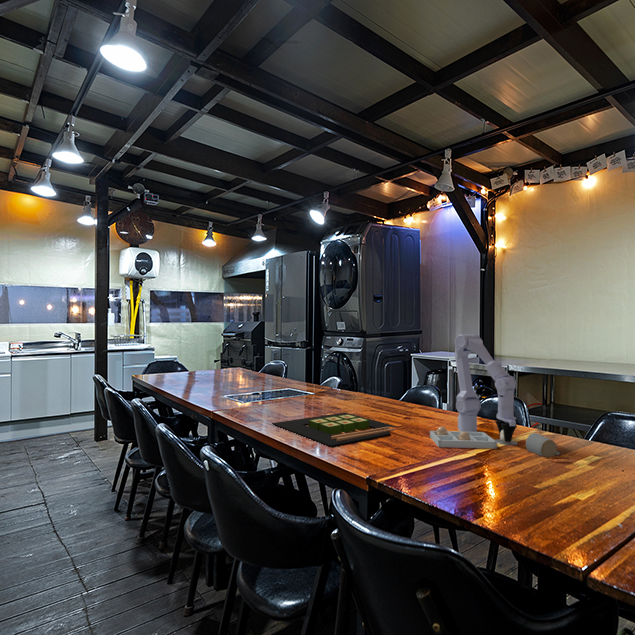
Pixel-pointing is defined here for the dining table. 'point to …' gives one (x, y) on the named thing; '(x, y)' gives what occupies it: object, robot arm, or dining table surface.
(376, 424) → the sushi set
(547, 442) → the ceramic mug
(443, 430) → the brown egg
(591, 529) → the dining table surface
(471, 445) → the egg carton
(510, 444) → the grey round disc
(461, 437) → the brown egg
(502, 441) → the cream egg
